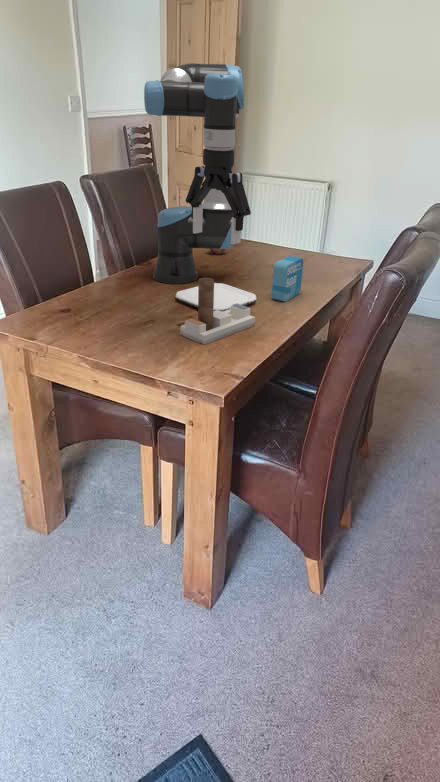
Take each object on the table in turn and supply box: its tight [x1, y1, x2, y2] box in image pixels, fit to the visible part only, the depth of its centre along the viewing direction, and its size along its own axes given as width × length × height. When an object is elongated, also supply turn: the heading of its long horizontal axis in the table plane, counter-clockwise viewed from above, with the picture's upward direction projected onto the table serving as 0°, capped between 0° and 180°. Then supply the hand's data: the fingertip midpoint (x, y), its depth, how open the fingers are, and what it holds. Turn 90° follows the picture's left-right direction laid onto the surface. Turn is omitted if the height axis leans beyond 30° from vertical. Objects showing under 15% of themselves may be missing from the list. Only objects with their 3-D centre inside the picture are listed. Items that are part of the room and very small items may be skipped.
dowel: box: [197, 277, 215, 331], centre depth 148 cm, size 4×4×14 cm
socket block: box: [179, 303, 256, 346], centre depth 154 cm, size 9×20×5 cm, turn 137°
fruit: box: [209, 249, 227, 255], centre depth 225 cm, size 8×8×8 cm
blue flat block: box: [271, 255, 304, 303], centre depth 179 cm, size 12×4×12 cm, turn 147°
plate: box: [175, 282, 257, 312], centre depth 176 cm, size 21×21×2 cm
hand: (216, 237), depth 145 cm, fingers open, 13 cm apart
